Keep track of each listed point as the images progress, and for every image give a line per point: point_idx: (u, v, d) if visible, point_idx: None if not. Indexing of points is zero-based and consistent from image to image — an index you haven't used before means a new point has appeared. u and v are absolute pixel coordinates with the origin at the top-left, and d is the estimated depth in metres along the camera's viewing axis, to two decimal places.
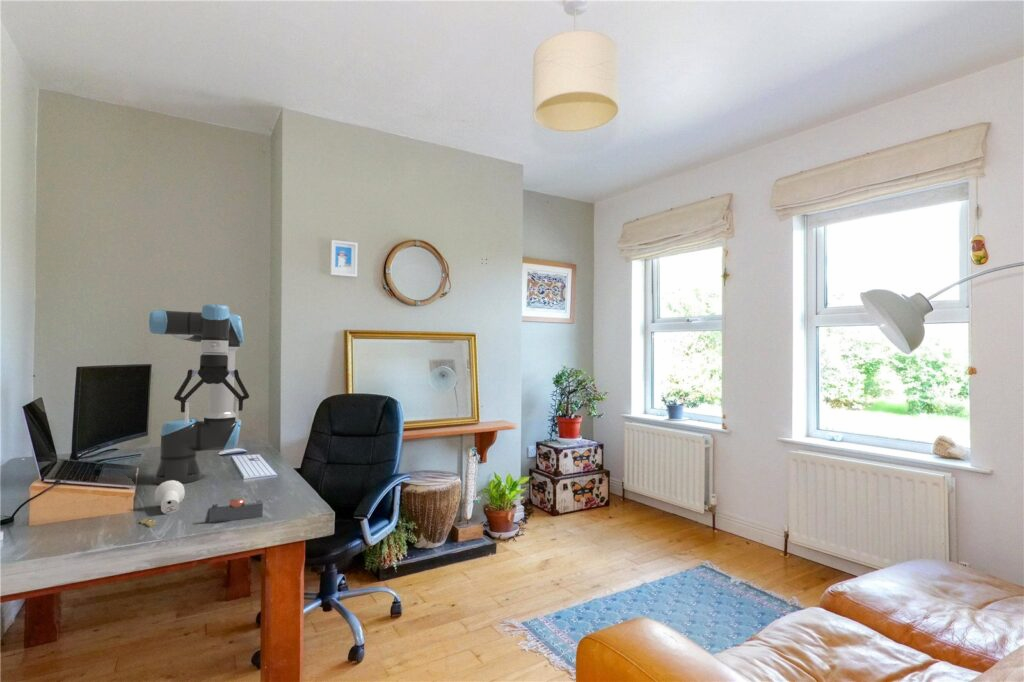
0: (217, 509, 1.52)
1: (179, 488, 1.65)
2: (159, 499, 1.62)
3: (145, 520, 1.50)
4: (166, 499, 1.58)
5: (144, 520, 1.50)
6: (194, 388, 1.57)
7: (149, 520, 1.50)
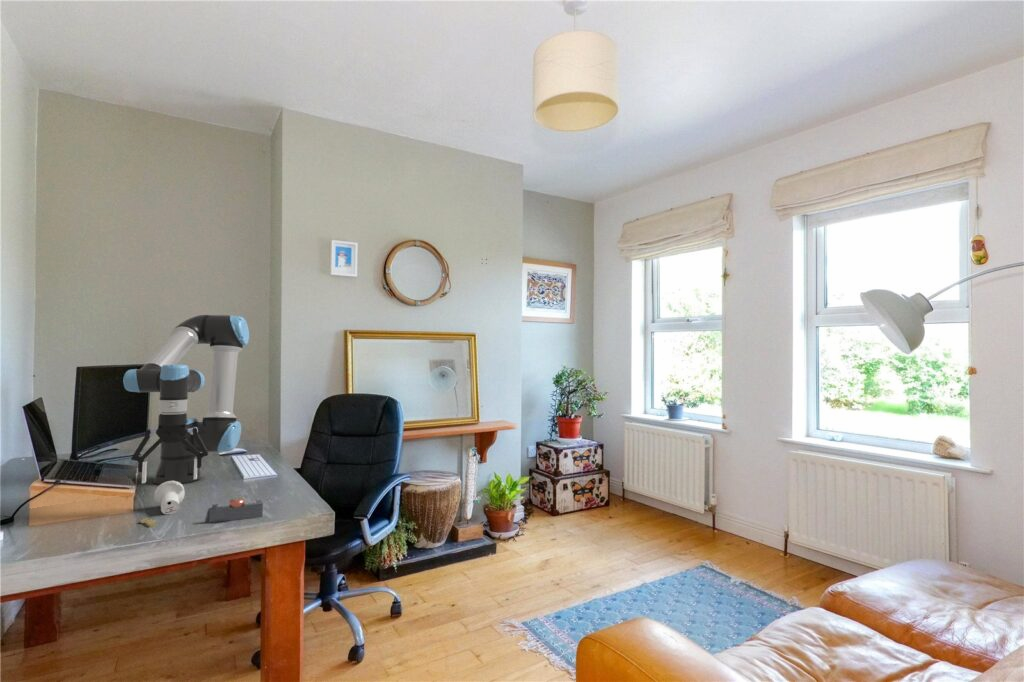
0: (217, 509, 1.52)
1: (179, 488, 1.64)
2: (159, 500, 1.61)
3: (145, 519, 1.50)
4: (166, 500, 1.57)
5: (144, 519, 1.50)
6: (152, 448, 1.60)
7: (149, 519, 1.50)
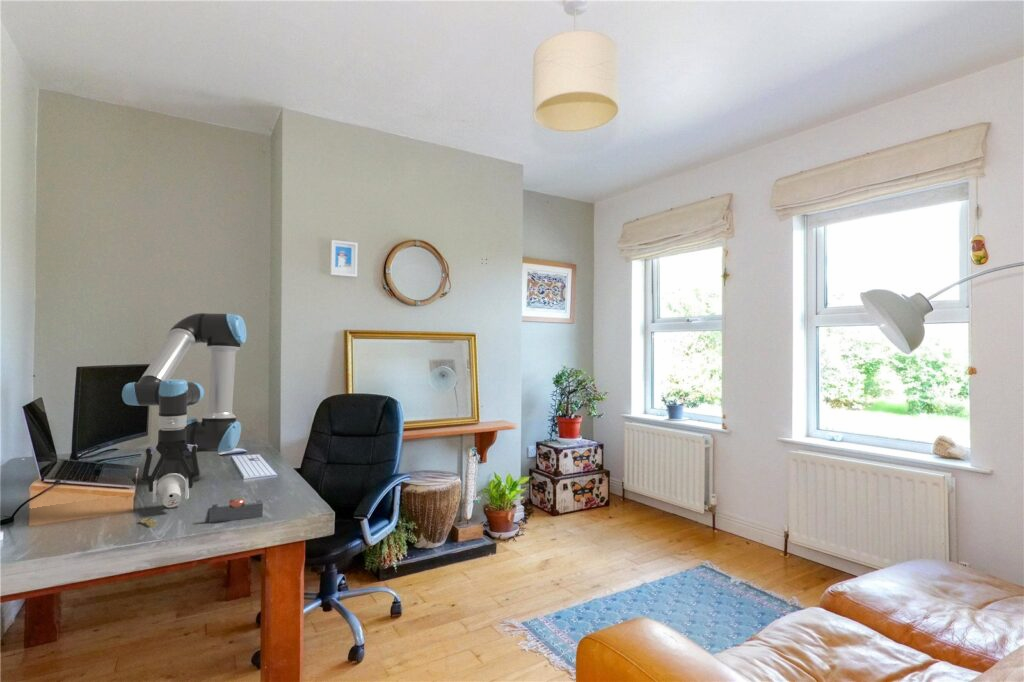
0: (217, 509, 1.52)
1: (181, 481, 1.65)
2: (161, 492, 1.62)
3: (145, 519, 1.50)
4: (168, 492, 1.58)
5: (144, 519, 1.50)
6: (157, 466, 1.61)
7: (149, 519, 1.50)
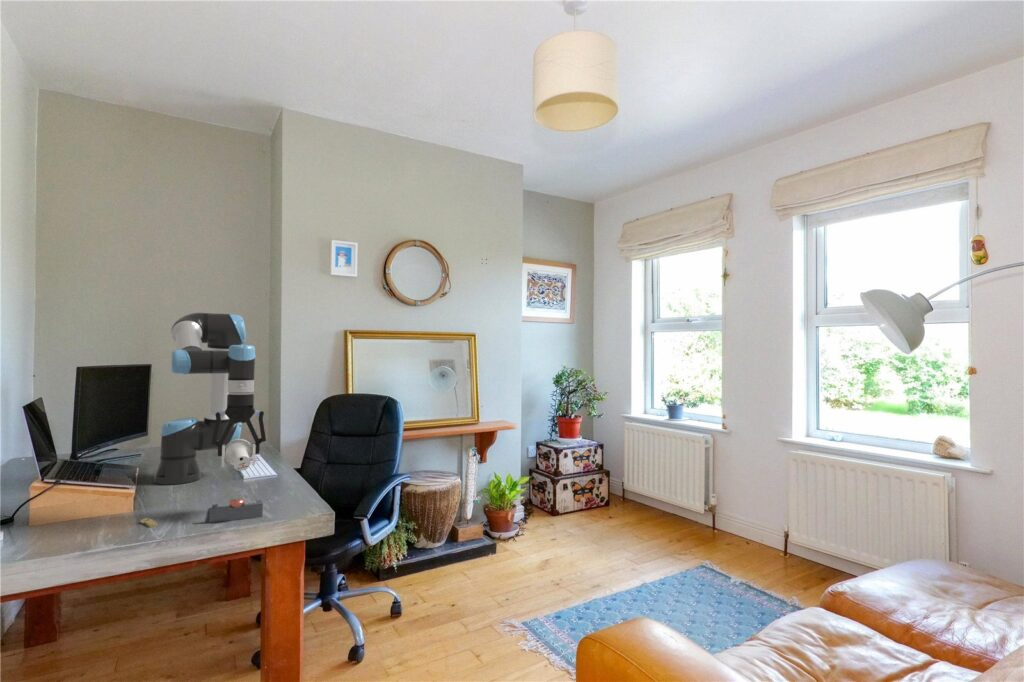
0: (217, 509, 1.52)
1: (248, 446, 1.64)
2: (229, 457, 1.61)
3: (145, 519, 1.50)
4: (238, 456, 1.57)
5: (144, 519, 1.50)
6: (226, 430, 1.61)
7: (149, 519, 1.50)
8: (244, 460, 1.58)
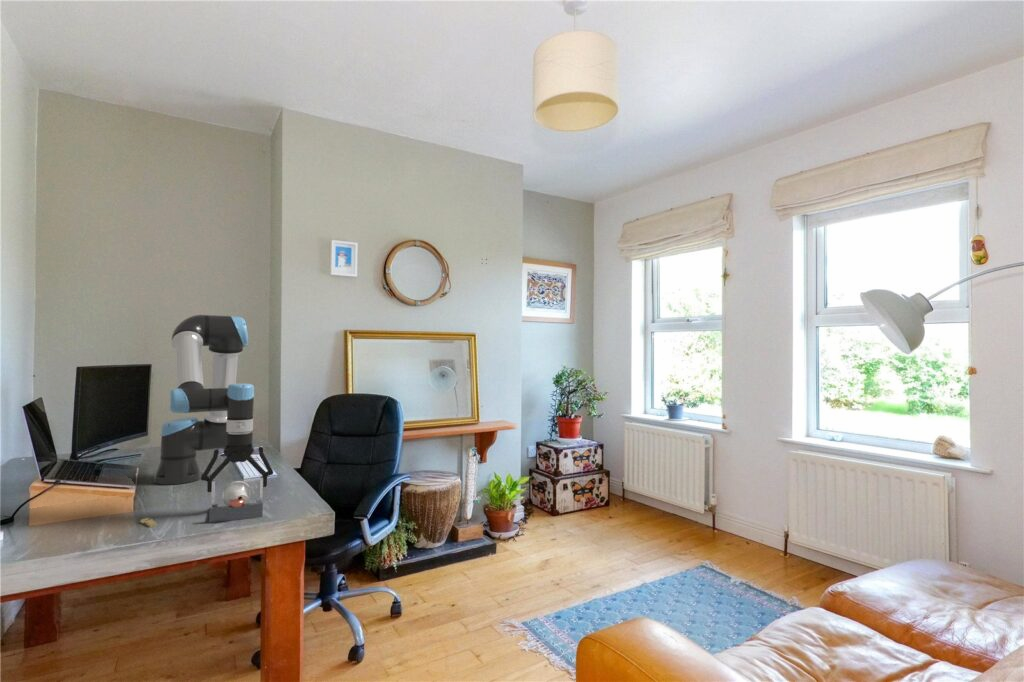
0: (217, 509, 1.52)
1: (246, 487, 1.65)
2: (228, 498, 1.61)
3: (145, 519, 1.50)
4: (237, 495, 1.57)
5: (144, 519, 1.50)
6: (220, 467, 1.60)
7: (149, 519, 1.50)
8: None
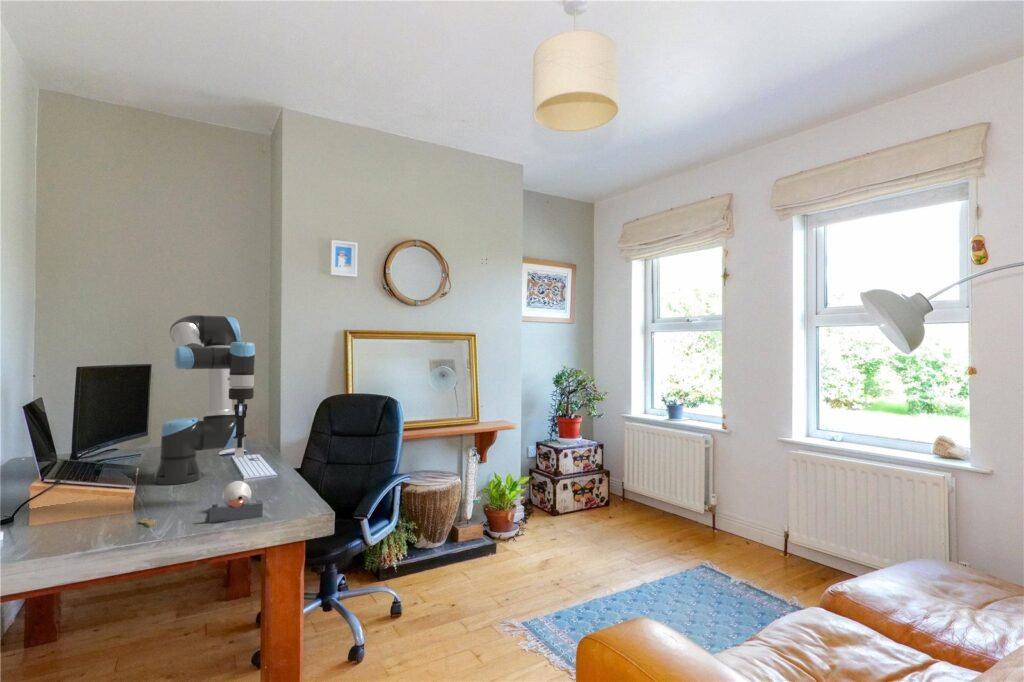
0: (217, 509, 1.52)
1: (246, 487, 1.65)
2: (228, 498, 1.61)
3: (145, 519, 1.50)
4: (237, 495, 1.57)
5: (144, 519, 1.50)
6: None
7: (149, 519, 1.50)
8: None
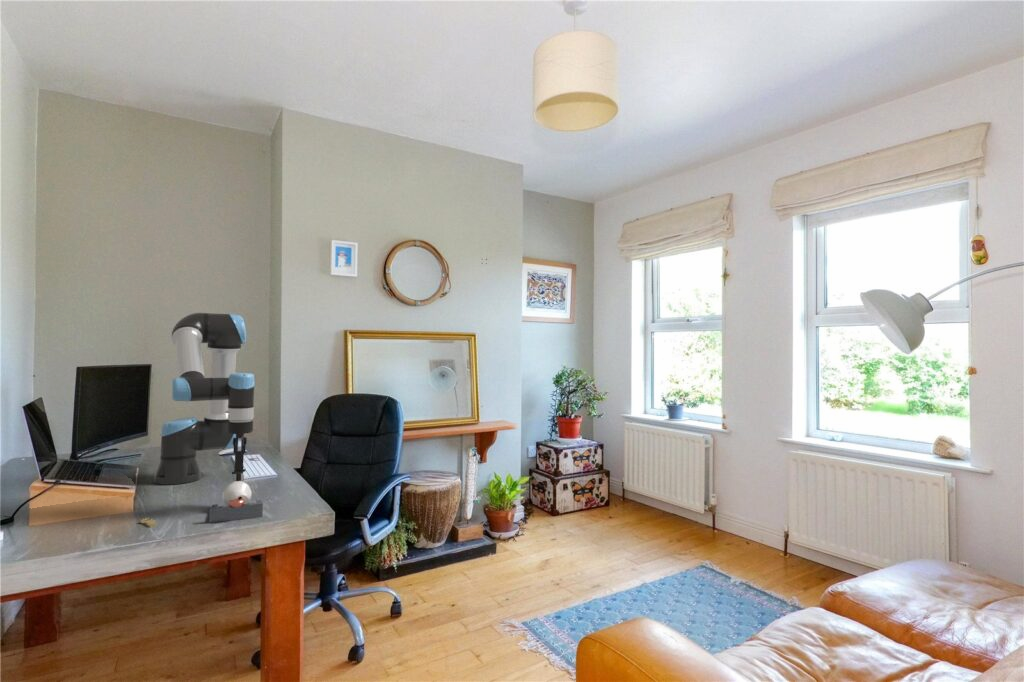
0: (217, 509, 1.52)
1: (247, 487, 1.65)
2: (228, 498, 1.61)
3: (145, 519, 1.50)
4: (237, 495, 1.57)
5: (144, 519, 1.50)
6: None
7: (149, 519, 1.50)
8: None
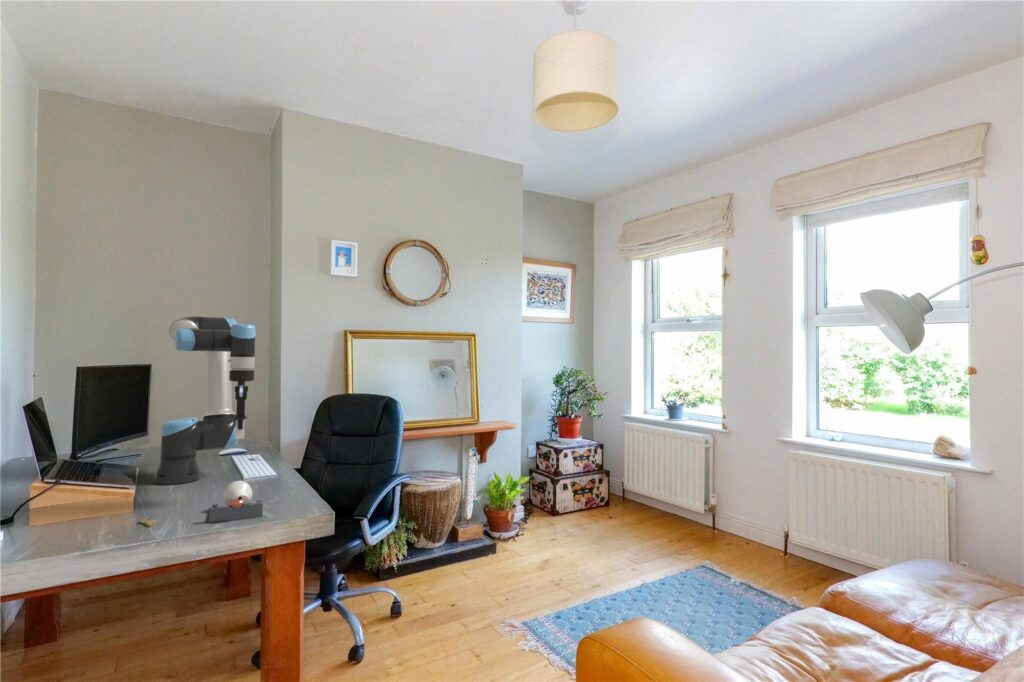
0: (217, 509, 1.52)
1: (247, 487, 1.65)
2: (228, 498, 1.61)
3: (145, 519, 1.50)
4: (237, 495, 1.57)
5: (144, 519, 1.50)
6: None
7: (149, 519, 1.50)
8: None
